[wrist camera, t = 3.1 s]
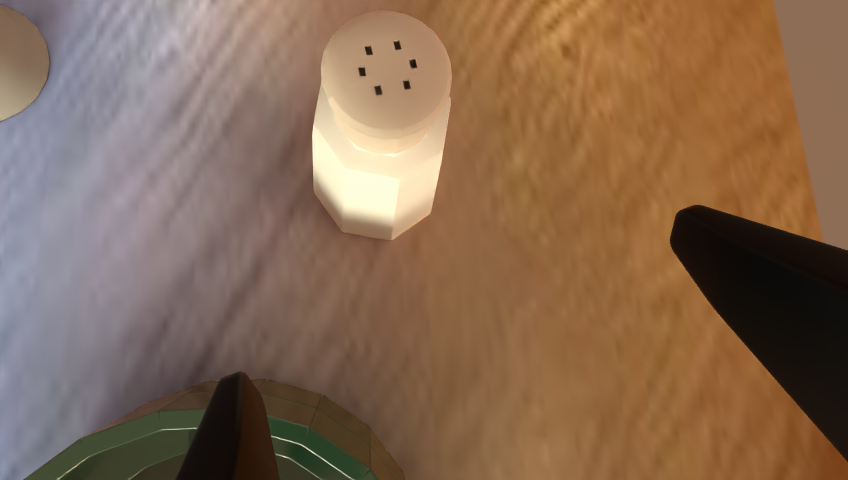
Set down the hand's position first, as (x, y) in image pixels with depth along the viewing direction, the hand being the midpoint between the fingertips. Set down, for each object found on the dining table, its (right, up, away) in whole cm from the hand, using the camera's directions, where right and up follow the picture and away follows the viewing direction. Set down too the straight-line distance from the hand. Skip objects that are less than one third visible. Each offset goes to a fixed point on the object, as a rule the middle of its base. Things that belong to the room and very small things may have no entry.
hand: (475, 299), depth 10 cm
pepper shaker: (-3, +4, +12) cm, 13 cm away
